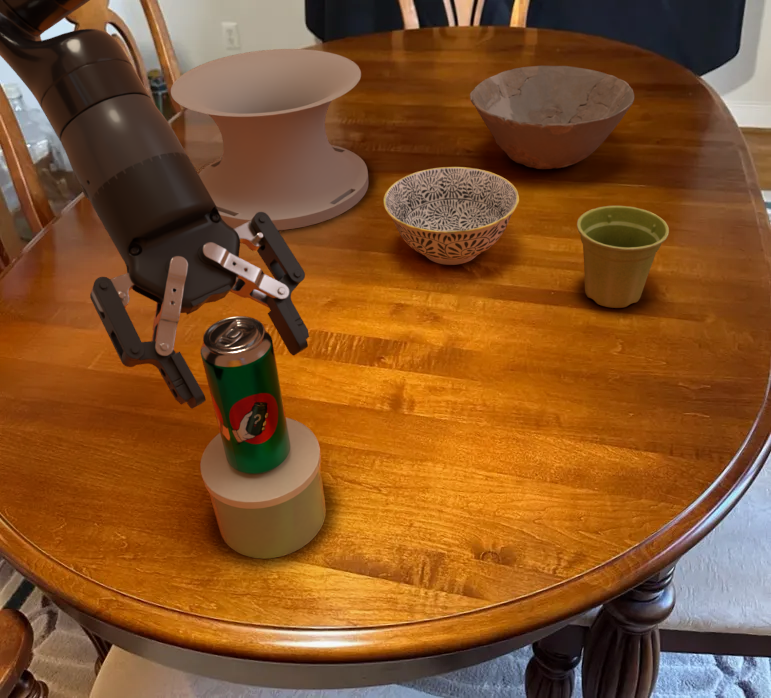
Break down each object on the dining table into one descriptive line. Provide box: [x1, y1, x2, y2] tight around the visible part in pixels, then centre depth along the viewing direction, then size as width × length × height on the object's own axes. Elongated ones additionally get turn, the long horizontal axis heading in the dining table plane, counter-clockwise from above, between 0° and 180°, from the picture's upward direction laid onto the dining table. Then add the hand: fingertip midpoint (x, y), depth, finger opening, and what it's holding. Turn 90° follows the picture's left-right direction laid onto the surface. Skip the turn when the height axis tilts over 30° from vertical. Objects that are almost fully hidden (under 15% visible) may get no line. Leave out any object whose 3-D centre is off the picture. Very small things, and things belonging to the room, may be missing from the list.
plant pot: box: [576, 205, 670, 309], centre depth 87 cm, size 9×9×9 cm
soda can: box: [200, 315, 290, 475], centre depth 59 cm, size 5×5×12 cm
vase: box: [170, 48, 370, 231], centre depth 110 cm, size 25×25×16 cm
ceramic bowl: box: [469, 65, 635, 170], centre depth 115 cm, size 22×23×10 cm
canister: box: [199, 417, 327, 559], centre depth 65 cm, size 9×9×7 cm
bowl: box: [382, 166, 520, 266], centre depth 97 cm, size 16×16×8 cm
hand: (251, 376), depth 57 cm, fingers open, 8 cm apart
